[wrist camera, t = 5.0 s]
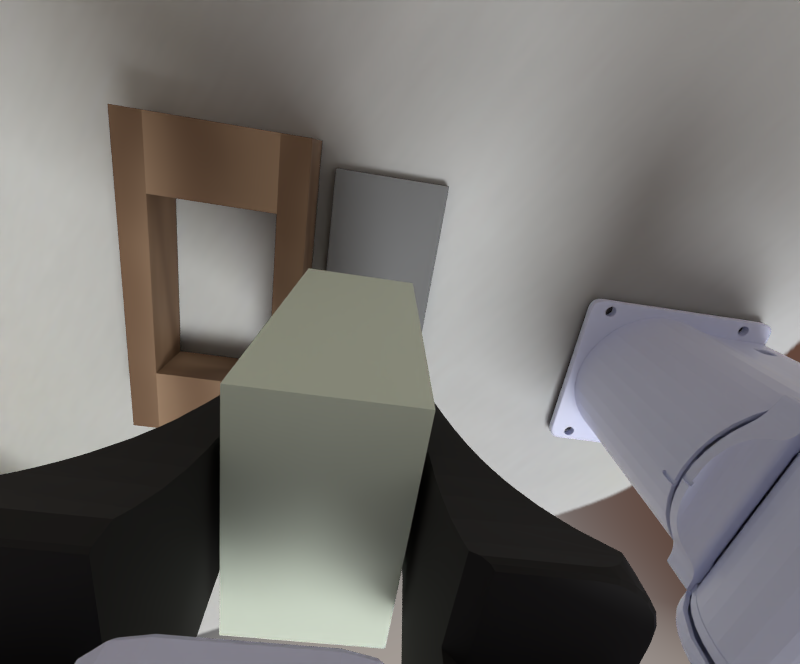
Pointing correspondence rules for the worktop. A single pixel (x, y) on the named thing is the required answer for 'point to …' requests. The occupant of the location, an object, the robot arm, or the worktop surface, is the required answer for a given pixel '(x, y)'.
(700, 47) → the worktop surface
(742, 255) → the worktop surface
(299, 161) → the pocket block
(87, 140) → the worktop surface
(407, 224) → the mat
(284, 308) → the sage block
